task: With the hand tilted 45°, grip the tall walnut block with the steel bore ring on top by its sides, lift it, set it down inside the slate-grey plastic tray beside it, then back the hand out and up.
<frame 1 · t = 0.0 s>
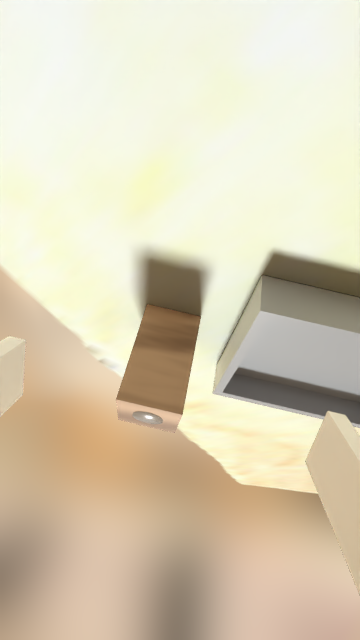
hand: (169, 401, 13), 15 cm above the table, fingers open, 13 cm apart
bored block: (171, 325, 36), on the table
tray: (331, 352, 34), on the table
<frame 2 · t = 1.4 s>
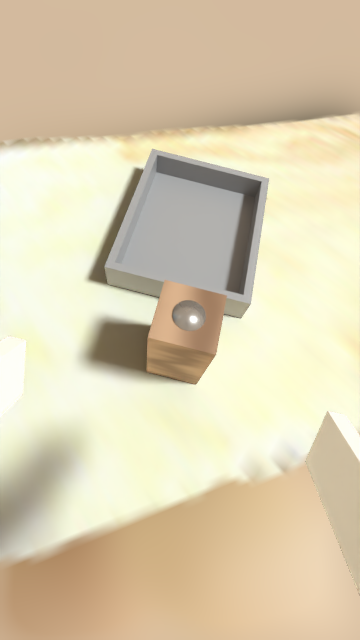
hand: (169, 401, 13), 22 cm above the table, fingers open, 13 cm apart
bored block: (177, 354, 38), on the table
tray: (191, 237, 45), on the table
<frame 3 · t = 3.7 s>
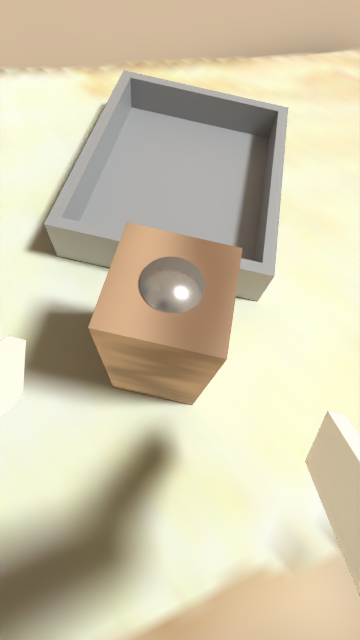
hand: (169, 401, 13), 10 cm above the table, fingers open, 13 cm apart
bored block: (161, 358, 24), on the table
tray: (181, 190, 32), on the table
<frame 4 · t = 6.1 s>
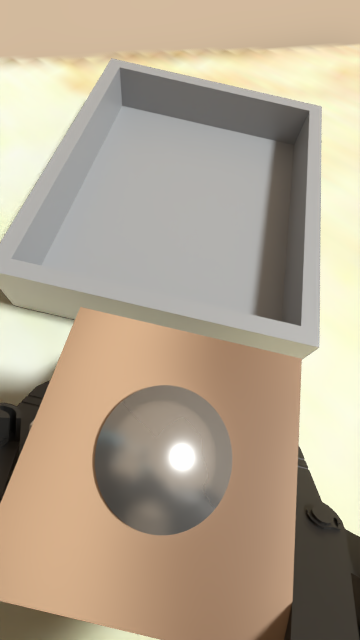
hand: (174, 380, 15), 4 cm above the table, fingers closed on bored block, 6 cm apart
bored block: (154, 462, 17), on the table, touching gripper
tray: (184, 212, 25), on the table
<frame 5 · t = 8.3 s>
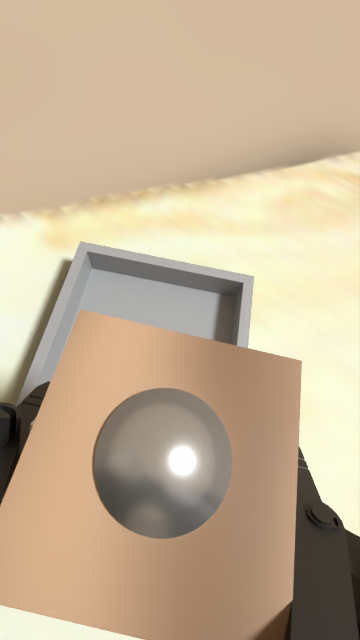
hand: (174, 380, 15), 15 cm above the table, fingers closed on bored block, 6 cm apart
bored block: (154, 463, 17), point 12 cm above the table, touching gripper
tray: (143, 373, 31), on the table
when the fingers open (6 cm above the table, at t = 10.9 s): bored block drops 1 cm, resting on tray.
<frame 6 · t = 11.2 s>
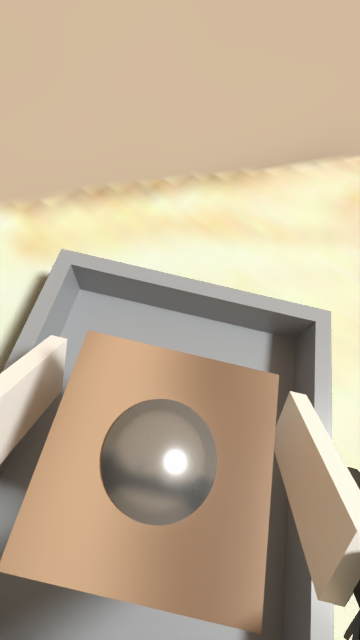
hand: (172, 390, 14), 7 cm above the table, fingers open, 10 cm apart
bored block: (153, 463, 18), point 1 cm above the table, touching tray
tray: (153, 463, 19), on the table
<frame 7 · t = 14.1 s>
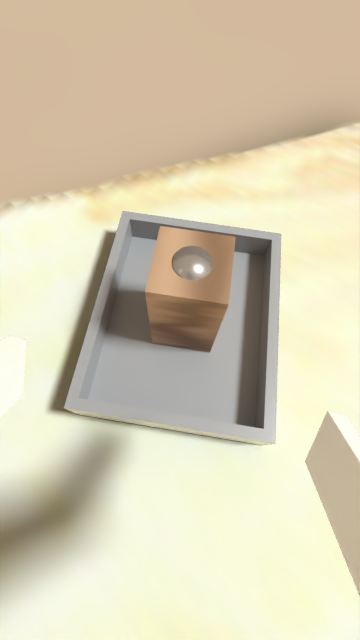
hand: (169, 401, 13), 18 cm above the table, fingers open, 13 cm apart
bored block: (185, 321, 33), point 1 cm above the table, touching tray
tray: (185, 325, 34), on the table
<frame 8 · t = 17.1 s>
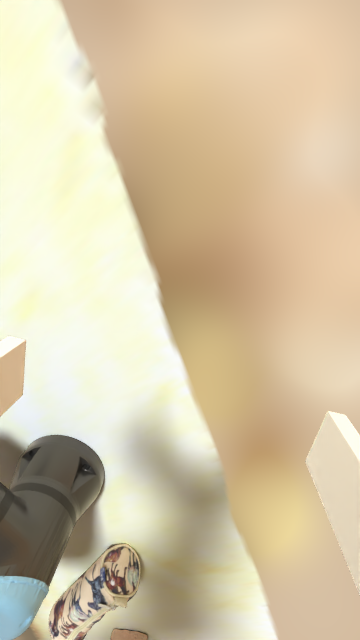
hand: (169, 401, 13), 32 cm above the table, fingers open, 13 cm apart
pencil case: (101, 569, 65), on the table
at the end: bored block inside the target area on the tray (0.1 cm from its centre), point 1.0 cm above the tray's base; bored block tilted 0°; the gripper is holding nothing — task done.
